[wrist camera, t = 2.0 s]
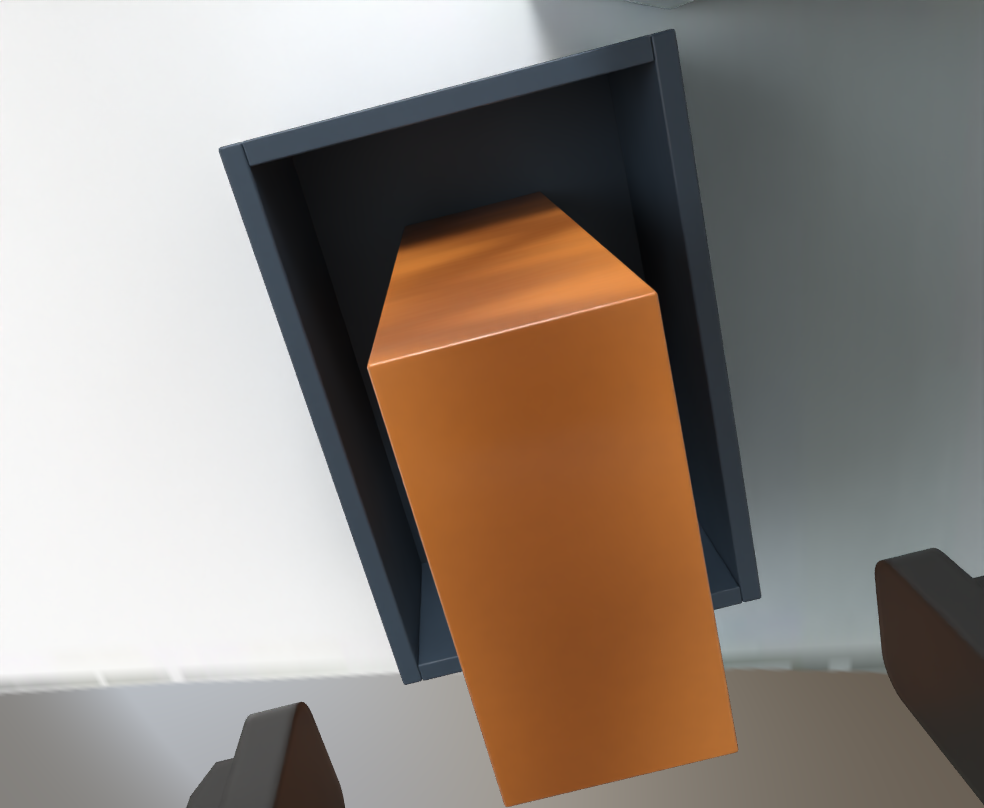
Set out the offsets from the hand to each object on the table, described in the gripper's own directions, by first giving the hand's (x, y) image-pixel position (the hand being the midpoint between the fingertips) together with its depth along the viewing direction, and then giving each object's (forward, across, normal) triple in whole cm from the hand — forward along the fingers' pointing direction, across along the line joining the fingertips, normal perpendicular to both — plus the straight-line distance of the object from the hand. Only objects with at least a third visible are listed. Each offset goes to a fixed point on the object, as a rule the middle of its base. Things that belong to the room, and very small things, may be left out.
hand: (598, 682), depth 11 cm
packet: (+18, 0, 0) cm, 18 cm away
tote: (+18, 0, 0) cm, 18 cm away
